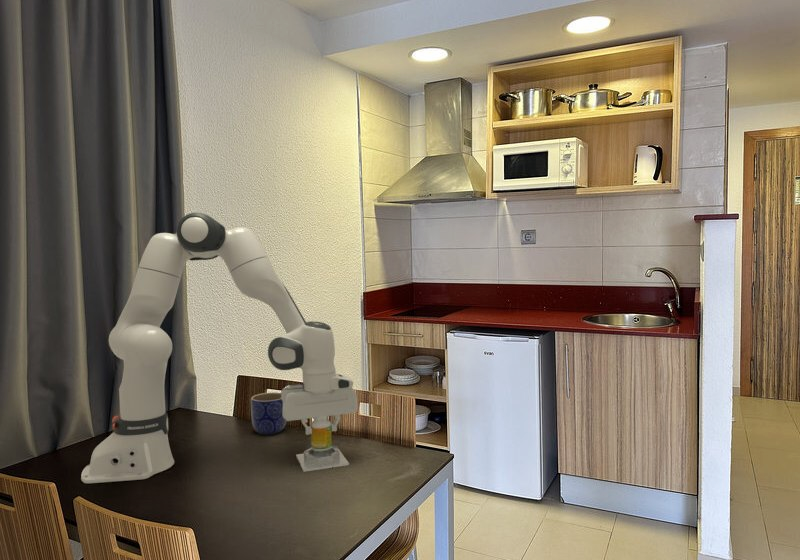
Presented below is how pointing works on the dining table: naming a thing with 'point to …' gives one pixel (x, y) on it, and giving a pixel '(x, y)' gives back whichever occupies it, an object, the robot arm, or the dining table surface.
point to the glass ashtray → (321, 459)
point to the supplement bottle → (321, 433)
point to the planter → (267, 413)
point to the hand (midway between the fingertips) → (321, 432)
